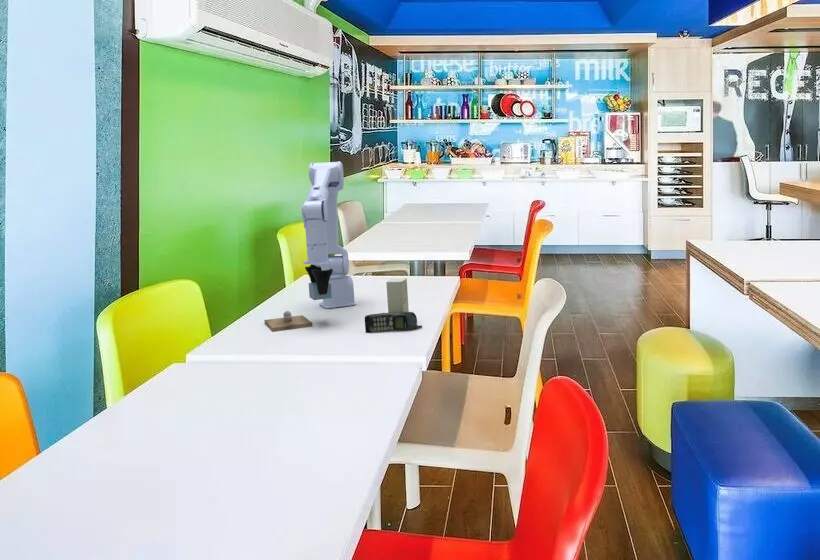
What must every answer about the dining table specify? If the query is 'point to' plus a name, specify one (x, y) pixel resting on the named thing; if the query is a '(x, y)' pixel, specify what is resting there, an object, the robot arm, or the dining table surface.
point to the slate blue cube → (315, 295)
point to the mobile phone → (391, 322)
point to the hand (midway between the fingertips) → (320, 292)
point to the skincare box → (397, 295)
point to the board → (288, 322)
